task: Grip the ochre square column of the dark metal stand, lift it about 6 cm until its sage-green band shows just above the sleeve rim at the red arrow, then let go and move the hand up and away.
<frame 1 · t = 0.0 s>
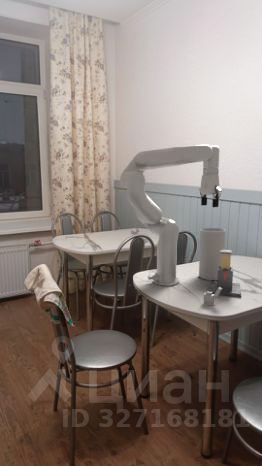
hand: (209, 206, 169), 37 cm above the table, tool pointing down, fingers open, 9 cm apart
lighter: (212, 305, 138), on the table
column: (225, 269, 153), point 10 cm above the table, slide at 0.0 cm
cylinder vase: (211, 277, 174), on the table
stand base: (224, 290, 155), on the table
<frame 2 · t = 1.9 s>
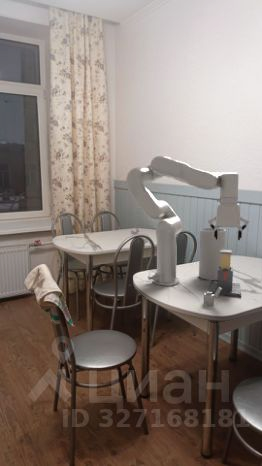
hand: (227, 239, 150), 24 cm above the table, tool pointing down, fingers open, 9 cm apart
nothing on the table moved.
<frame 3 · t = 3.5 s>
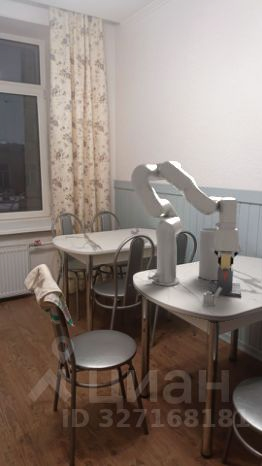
hand: (225, 265, 152), 12 cm above the table, tool pointing down, fingers closed on column, 4 cm apart
column: (225, 269, 153), point 10 cm above the table, slide at 0.0 cm, touching gripper
everything else where it was.
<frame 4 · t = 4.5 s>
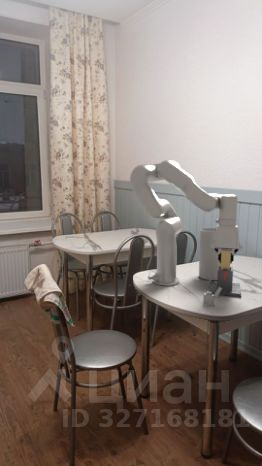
hand: (225, 262, 152), 14 cm above the table, tool pointing down, fingers closed on column, 4 cm apart
column: (225, 266, 153), point 12 cm above the table, slide at 1.4 cm, touching gripper
everything else where it was.
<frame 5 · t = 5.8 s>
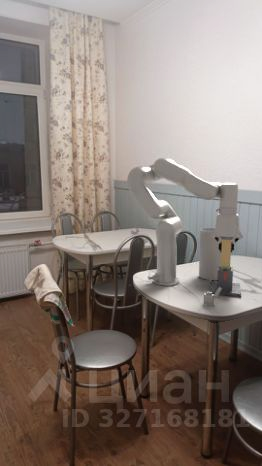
hand: (226, 251, 151), 19 cm above the table, tool pointing down, fingers closed on column, 4 cm apart
column: (225, 255, 152), point 17 cm above the table, slide at 6.4 cm, touching gripper
everything else where it was.
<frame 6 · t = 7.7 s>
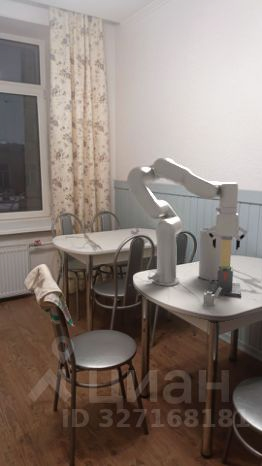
hand: (225, 248, 151), 20 cm above the table, tool pointing down, fingers open, 9 cm apart
column: (225, 255, 152), point 17 cm above the table, slide at 6.5 cm
everything else where it was.
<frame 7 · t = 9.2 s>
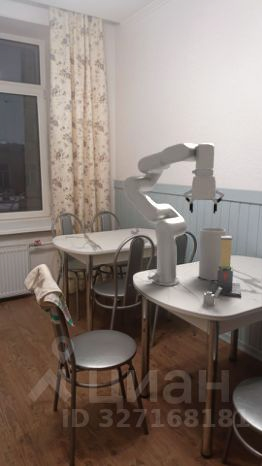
hand: (203, 212, 147), 36 cm above the table, tool pointing down, fingers open, 9 cm apart
nothing on the table moved.
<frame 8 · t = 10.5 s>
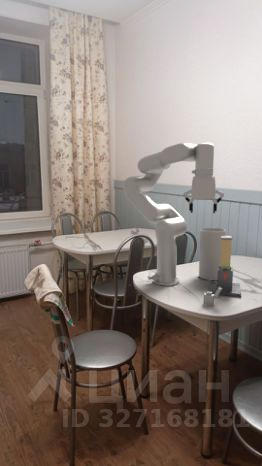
hand: (202, 212, 147), 36 cm above the table, tool pointing down, fingers open, 9 cm apart
nothing on the table moved.
at the end: column slide at 6.5 cm; the gripper is holding nothing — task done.
